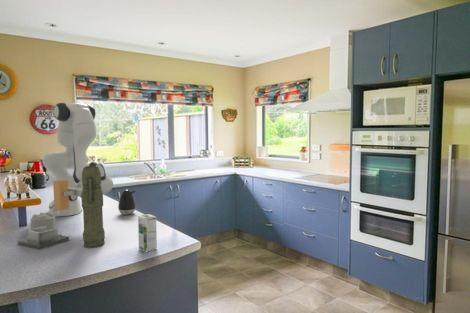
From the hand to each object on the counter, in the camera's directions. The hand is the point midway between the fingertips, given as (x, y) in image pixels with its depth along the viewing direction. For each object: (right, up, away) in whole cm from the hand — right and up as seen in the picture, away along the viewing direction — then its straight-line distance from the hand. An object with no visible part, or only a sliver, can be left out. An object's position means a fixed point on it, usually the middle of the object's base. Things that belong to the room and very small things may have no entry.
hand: (59, 193), depth 155 cm
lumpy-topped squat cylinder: (-15, -21, +13) cm, 29 cm away
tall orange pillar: (+1, -8, +1) cm, 8 cm away
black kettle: (+17, -18, +45) cm, 52 cm away
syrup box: (+47, -22, -17) cm, 54 cm away
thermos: (+21, -22, -10) cm, 32 cm away
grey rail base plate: (-4, -22, -6) cm, 23 cm away
